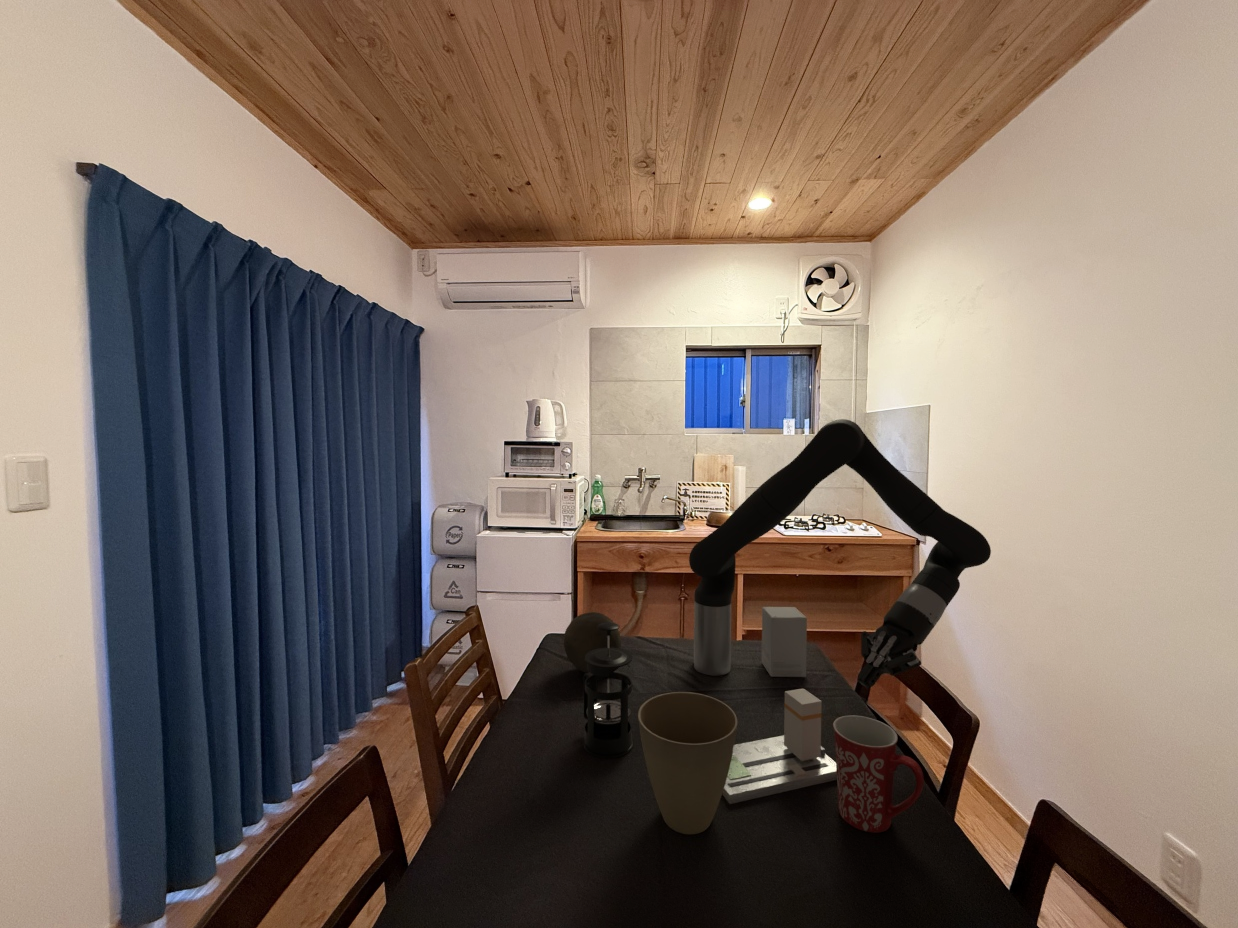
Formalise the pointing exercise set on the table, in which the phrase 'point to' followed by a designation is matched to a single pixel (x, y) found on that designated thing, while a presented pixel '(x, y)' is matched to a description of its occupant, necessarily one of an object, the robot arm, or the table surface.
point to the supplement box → (784, 641)
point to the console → (772, 770)
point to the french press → (607, 700)
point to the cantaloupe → (587, 638)
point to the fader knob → (802, 724)
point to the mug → (869, 772)
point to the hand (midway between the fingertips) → (862, 684)
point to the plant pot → (687, 755)
